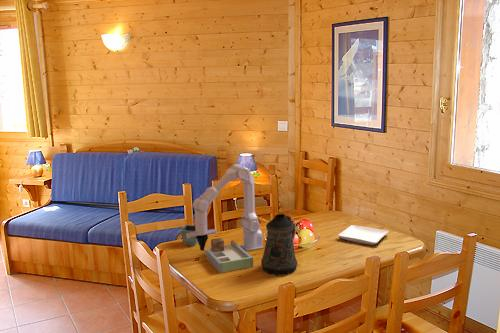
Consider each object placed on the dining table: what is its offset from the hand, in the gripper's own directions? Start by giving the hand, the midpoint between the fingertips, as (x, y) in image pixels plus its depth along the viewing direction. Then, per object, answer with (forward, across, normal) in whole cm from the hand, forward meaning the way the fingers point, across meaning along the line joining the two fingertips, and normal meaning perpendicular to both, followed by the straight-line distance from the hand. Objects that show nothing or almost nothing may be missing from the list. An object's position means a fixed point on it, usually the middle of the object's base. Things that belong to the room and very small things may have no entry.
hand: (202, 249), depth 237 cm
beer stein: (+4, -29, +27) cm, 40 cm away
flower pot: (+4, -1, -20) cm, 20 cm away
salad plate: (+4, -87, +12) cm, 88 cm away
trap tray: (+4, -10, +8) cm, 13 cm away
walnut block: (+1, -8, 0) cm, 8 cm away
